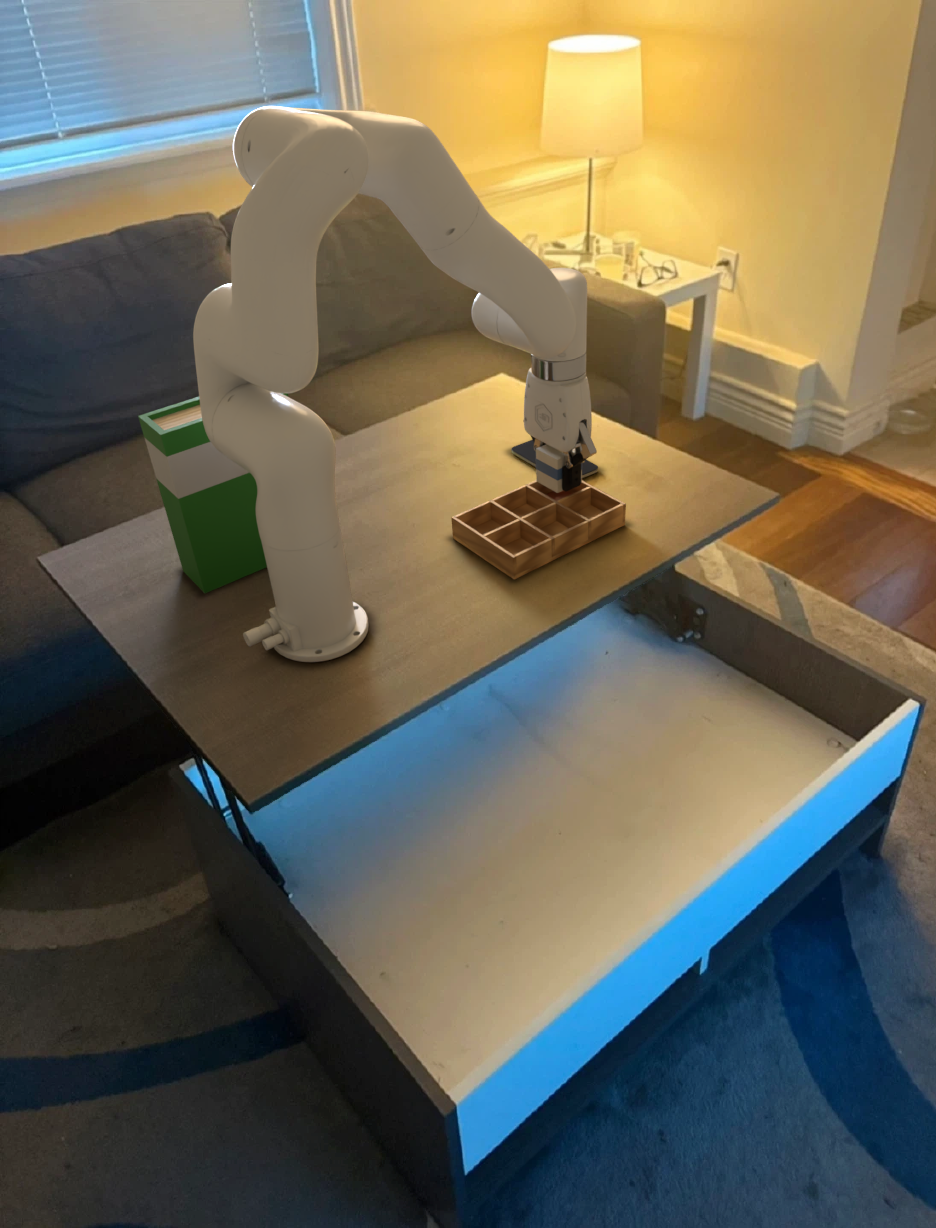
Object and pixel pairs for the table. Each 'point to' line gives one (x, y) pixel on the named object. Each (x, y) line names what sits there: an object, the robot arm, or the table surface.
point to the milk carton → (550, 467)
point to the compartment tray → (536, 525)
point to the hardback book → (203, 498)
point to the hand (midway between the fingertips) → (558, 479)
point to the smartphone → (529, 455)
